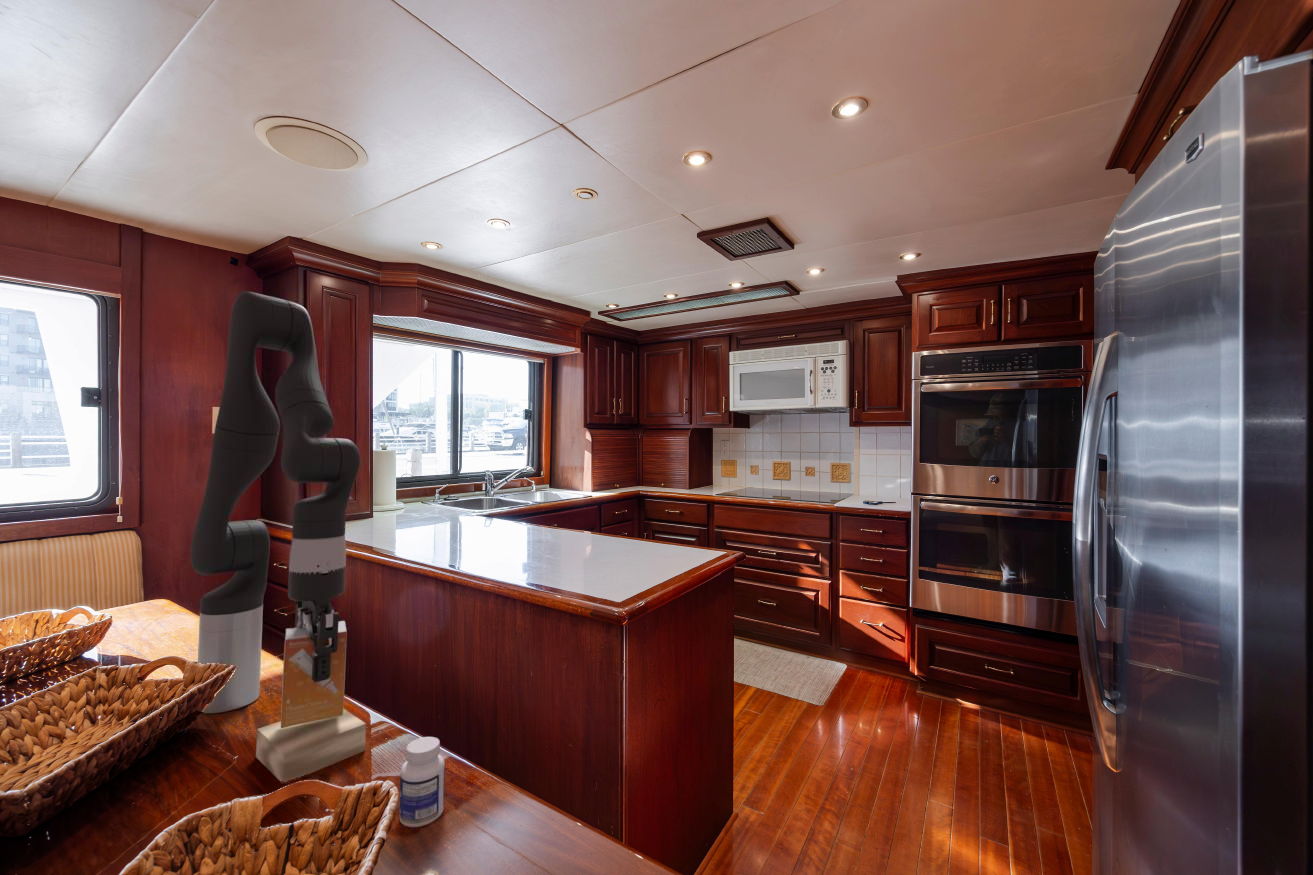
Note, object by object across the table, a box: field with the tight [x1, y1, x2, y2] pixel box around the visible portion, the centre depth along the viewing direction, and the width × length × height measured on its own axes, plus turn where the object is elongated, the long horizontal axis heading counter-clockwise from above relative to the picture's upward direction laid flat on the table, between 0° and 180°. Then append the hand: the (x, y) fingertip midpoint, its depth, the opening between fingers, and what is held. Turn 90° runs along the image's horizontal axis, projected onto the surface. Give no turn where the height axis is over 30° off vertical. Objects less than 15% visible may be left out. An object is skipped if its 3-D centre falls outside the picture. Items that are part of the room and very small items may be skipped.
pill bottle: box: [398, 736, 446, 828], centre depth 69 cm, size 5×5×9 cm
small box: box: [280, 620, 348, 728], centre depth 83 cm, size 8×6×13 cm
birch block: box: [255, 708, 367, 782], centre depth 82 cm, size 11×11×4 cm
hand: (313, 672), depth 83 cm, fingers closed on small box, 7 cm apart
